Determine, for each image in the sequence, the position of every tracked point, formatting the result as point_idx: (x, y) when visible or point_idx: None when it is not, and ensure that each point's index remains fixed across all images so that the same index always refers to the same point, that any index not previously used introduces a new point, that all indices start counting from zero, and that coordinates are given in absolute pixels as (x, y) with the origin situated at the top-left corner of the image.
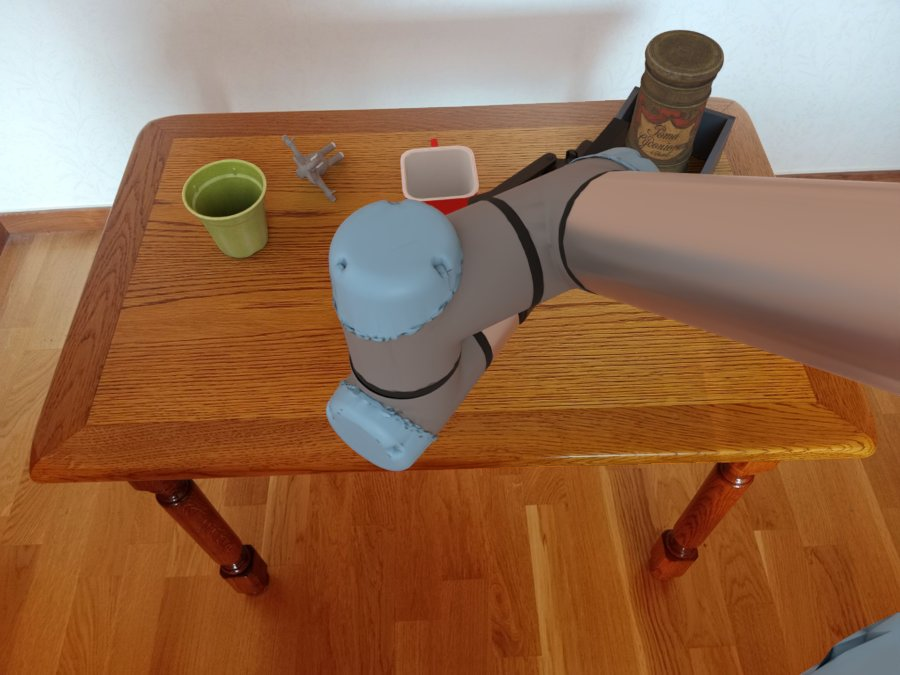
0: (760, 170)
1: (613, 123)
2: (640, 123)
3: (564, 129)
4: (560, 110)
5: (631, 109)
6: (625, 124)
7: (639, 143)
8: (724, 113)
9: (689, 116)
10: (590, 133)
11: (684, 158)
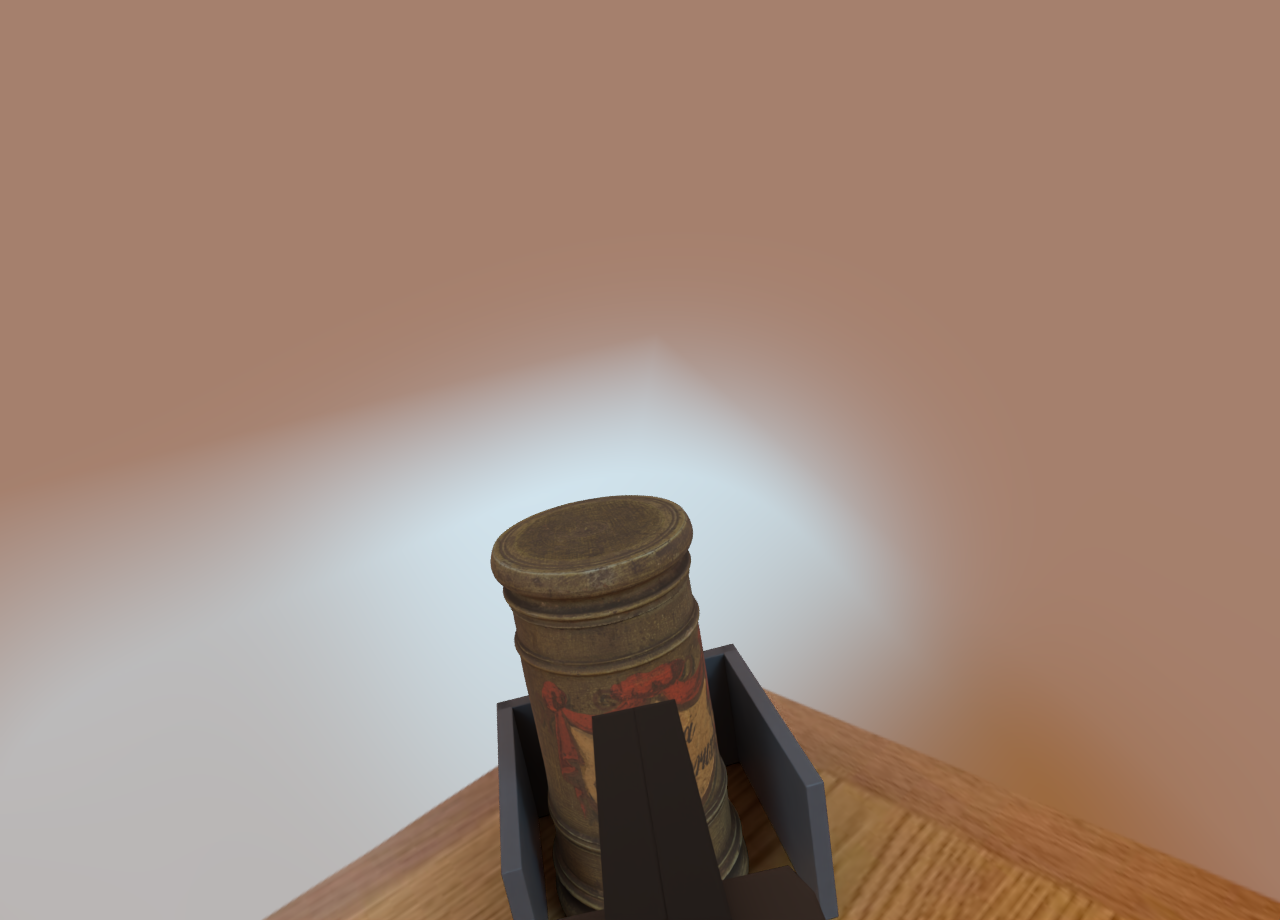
0: (827, 720)
1: (614, 742)
2: (582, 757)
3: (380, 905)
4: (347, 865)
5: (520, 754)
6: (670, 713)
7: None
8: (707, 650)
9: (691, 665)
10: (451, 871)
11: (723, 778)
